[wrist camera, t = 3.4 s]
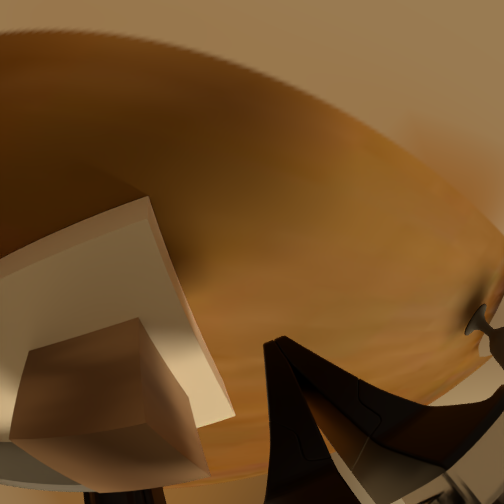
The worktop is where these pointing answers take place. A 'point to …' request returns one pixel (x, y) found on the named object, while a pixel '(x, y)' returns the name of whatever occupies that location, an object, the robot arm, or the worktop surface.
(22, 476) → the lane walls
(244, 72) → the worktop surface
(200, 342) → the deck
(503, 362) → the sundae
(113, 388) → the walnut block
